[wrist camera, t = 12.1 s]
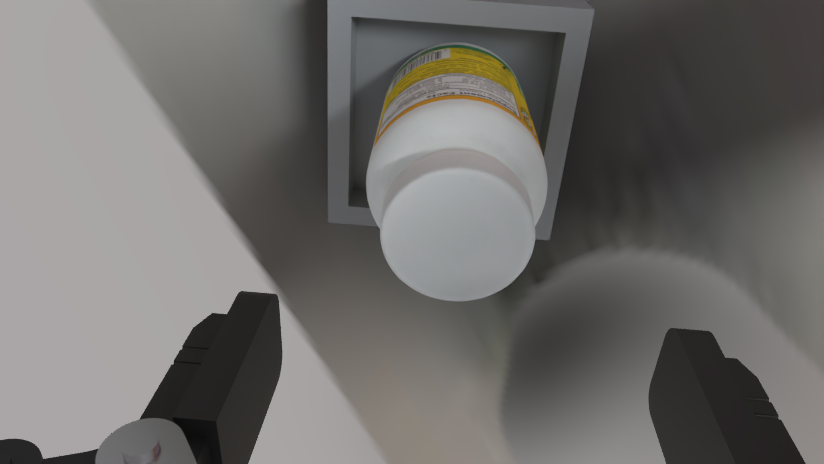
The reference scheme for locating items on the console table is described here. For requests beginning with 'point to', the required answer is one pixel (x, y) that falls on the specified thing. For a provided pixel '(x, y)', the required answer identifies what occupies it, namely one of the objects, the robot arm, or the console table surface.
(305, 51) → the console table surface
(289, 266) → the console table surface
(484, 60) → the supplement bottle
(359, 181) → the tray
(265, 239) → the console table surface
